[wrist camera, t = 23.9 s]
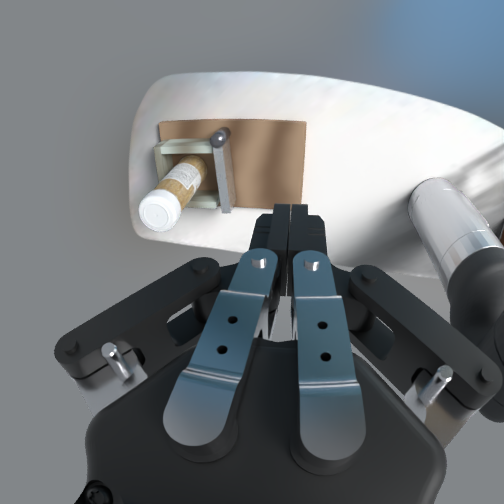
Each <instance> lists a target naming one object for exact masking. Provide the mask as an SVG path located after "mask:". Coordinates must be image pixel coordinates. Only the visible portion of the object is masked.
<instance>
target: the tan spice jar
mask: <svg viewBox="0 0 504 504" xmlns="http://www.w3.org/2000/svg"><path fill="white" fill-rule="evenodd" d="M207 172H208V171H207V166H206V164H205V162H204V161H203V159H201V158H200V157H198V156H195V155H188V156H185V157H183V158H182V159H181V160H180V162H179V163H178V165H176V166H175V167H174V168H173V169H172V170H171V171H170V172H169V173H168V174H167V175H166V176H165V177H164V178H163V179H162V180H161V181H160V182H159V184H158V185H157V186H156V188H155V189H154V190H153V191H151V192H149V193H148V194H147V195H146V196H145V197H144V199H143V200H142V201H141V203H140V205H139V216H140V219H141V220H142V222H143V223H144V224H145V225H146V226H147V227H148V228H149V229H151V230H153V231H156V232H166V231H168V230H170V229H172V228H173V227H174V225H175V224H176V223H177V221H178V219H179V218H180V215H181V212H182V210H183V209H184V207H185V206H186V204H187V203H188V202H189V201H190V199H191V198H192V196H193V195H194V193H195V192H196V190H197V189H198V188H199V186H200V184H201V182H202V181H204V179H205V178H206V176H207Z"/></svg>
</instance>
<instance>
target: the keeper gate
mask: <svg viewBox="0 0 504 504" xmlns="http://www.w3.org/2000/svg"><path fill="white" fill-rule="evenodd" d="M230 136H231V131H230V129H229V128H227V127H221V128H220V129H219V130H218V131H217V132H216V133H215V134H214V135H213V136H212V137H211V138H210V145H211V146H212V147H213V153H214V160H215V168H216V175H217V182H218V189H219V196H220V203H221V210H222V213H231V211H232V209H233V206H234V204H235V201H236V193H235V185H234V176H233V167H232V158H231V149H230V140H229V137H230Z"/></svg>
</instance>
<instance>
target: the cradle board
mask: <svg viewBox="0 0 504 504" xmlns="http://www.w3.org/2000/svg"><path fill="white" fill-rule="evenodd" d="M221 127H227V128H229V129H230V131H231V136H230V137H229V140H230V149H231V158H232V167H233V176H234V185H235V193H236V201H235V204H234V206H233V207H249V208H265V209H274V204H275V203H281V204H291V208H292V204H301V199H302V186H303V172H304V157H305V140H306V122H303V121H287V120H265V119H201V120H178V121H163V122H160V123H159V130H160V138H161V142H160V143H159V144H157V145H156V146H155V147H154V154H155V161H156V168H157V175H158V181H159V182H160V181H161V180H162V179H163V178H164V177H165V176H166V175H167V174H168V173H169V172H170V171H171V170H172V169H173V168H174V167H175V166H176V165H178V163H179V162H180V160H181V159H182V158H183V157H185V156H188V155H195V156H198V157H200V158H201V159H203V161H204V162H205V164H206V166H207V171H208V172H207V176H206V178H205V179H204V181H202V182H201V184H200V186H199V188H198V189H197V190H196V192H195V193H194V195H193V196H192V198H191V199H190V201H189V202H188V203H187V204H186V206H185V207H191V208H214V209H216V208H217V206H221V203H220V196H219V189H218V182H217V175H216V168H215V160H214V153H213V147H212V146H211V145H210V138H211V137H212V136H213V135H214V134H215V133H216V132H217V131H218V130H219V129H220V128H221Z"/></svg>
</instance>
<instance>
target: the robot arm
mask: <svg viewBox="0 0 504 504" xmlns="http://www.w3.org/2000/svg"><path fill="white" fill-rule="evenodd" d="M408 213H409V216H410V219H411V221H412V223H413V225H414V226H415V228H416V230H417V232H418V234H419V236H420V238H421V240H422V242H423V244H424V246H425V248H426V250H427V253H428V255H429V257H430V259H431V261H432V263H433V265H434V267H435V270H436V272H437V274H438V276H439V279H440V281H441V283H442V285H443V288H444V290H445V292H446V295H447V297H448V299H449V302H450V323H451V324H449V323H448V322H447V321H446V320H444V319H443V318H442V317H441V316H440V315H438V314H437V313H436V312H435V311H433V310H432V309H431V308H430V307H428V306H427V305H426V304H425V303H423V302H422V301H421V300H420V299H418V298H417V297H416V296H415V295H413V294H412V293H411V292H410V291H408V290H407V289H406V288H404V287H403V286H402V285H400V284H399V283H398V282H397V281H395V280H394V279H393V278H391V277H390V276H389V275H387V274H386V273H385V272H383V271H382V270H381V269H379V268H377V267H375V266H371V265H360V266H357V267H355V268H354V269H353V270H352V271H351V272H348V271H344V270H341V269H338V268H336V267H335V266H333V265H332V264H331V263H330V260H329V258H328V257H327V246H326V236H325V225H324V221H323V220H322V219H321V217H320V216H318V215H308V204H292V208H291V204H281V203H275V204H274V209H273V214H262V215H261V216H260V217H259V218H258V219H257V220H256V224H255V228H254V231H253V235H252V239H251V243H250V247H249V251H247V252H245V253H244V254H243V255H242V256H241V258H240V261H239V262H238V263H236V264H233V265H228V266H223V267H219V263H218V262H217V261H216V260H214V259H212V258H208V257H201V258H196V259H193V260H191V261H189V262H187V263H186V264H184V265H182V266H181V267H179V268H177V269H175V270H174V271H172V272H170V273H168V274H167V275H165V276H163V277H161V278H160V279H158V280H156V281H154V282H153V283H151V284H149V285H148V286H146V287H144V288H142V289H141V290H139V291H137V292H136V293H134V294H132V295H130V296H129V297H127V298H125V299H124V300H122V301H120V302H119V303H117V304H115V305H113V306H112V307H110V308H109V309H107V310H105V311H103V312H102V313H100V314H98V315H97V316H95V317H94V318H92V319H90V320H88V321H87V322H85V323H83V324H82V325H80V326H79V327H77V328H75V329H73V330H72V331H70V332H69V333H67V334H65V335H64V336H63V337H61V338H60V340H59V341H58V342H57V344H56V346H55V350H54V354H55V358H56V359H57V361H58V362H59V363H60V364H61V366H62V367H63V368H64V369H65V370H66V372H67V374H68V375H69V376H70V377H71V378H72V380H73V381H74V382H75V383H76V384H77V385H78V388H79V390H80V392H81V394H82V395H83V398H84V400H85V402H86V403H87V406H88V407H89V409H90V411H91V413H92V415H93V417H94V418H93V419H92V421H91V422H90V424H89V426H88V429H87V432H86V437H85V448H86V455H87V465H88V466H87V468H88V469H87V482H86V486H85V488H84V490H83V492H82V494H81V495H80V497H79V498H78V500H77V501H76V502H75V503H74V504H434V501H435V499H436V496H437V494H438V491H439V490H440V488H441V485H442V483H443V481H444V478H445V474H446V467H447V460H446V455H445V451H444V449H445V448H446V446H447V445H448V444H449V443H450V442H451V441H452V439H453V438H454V437H455V436H456V435H457V433H458V432H459V431H460V430H461V428H462V427H463V426H464V425H465V423H466V422H467V421H468V419H469V418H470V417H472V416H473V415H474V414H475V413H476V412H477V411H480V413H481V414H482V415H483V416H485V417H486V418H487V419H489V420H491V421H494V422H499V423H501V422H504V247H503V245H502V244H501V242H500V241H499V240H498V238H497V237H496V236H495V234H494V233H493V232H492V230H491V229H490V228H489V223H488V222H487V220H486V219H485V218H484V217H483V215H482V214H481V213H480V212H479V211H478V209H477V208H476V207H475V206H474V205H473V204H472V202H471V201H470V200H469V199H468V198H467V197H466V196H465V194H464V193H463V192H462V191H459V190H458V189H457V188H456V187H455V186H454V185H453V184H452V183H451V182H450V181H448V180H446V179H442V178H432V179H428V180H426V181H424V182H423V183H421V184H420V185H419V186H418V187H417V188H416V189H415V190H414V191H413V193H412V195H411V197H410V200H409V204H408ZM290 218H291V222H290ZM287 273H288V283H287ZM286 285H287V296H291V297H292V298H291V341H284V342H273V341H271V339H272V334H273V330H274V326H275V321H276V317H277V312H278V305H279V301H280V296H285V295H286ZM189 304H192V308H190V309H189V310H187V311H185V312H184V313H182V314H181V315H179V316H178V317H176V318H175V319H173V320H171V321H170V322H168V323H167V321H168V319H169V318H170V317H171V316H172V315H173V314H175V313H176V312H178V311H180V310H181V309H183V308H184V307H186V306H187V305H189ZM376 317H378V318H379V319H380V320H381V321H383V322H384V323H385V324H386V325H387V326H388V327H389V328H390V329H391V330H392V331H393V332H392V331H391V330H390V329H389V328H387V327H386V326H385V325H384V324H383V323H382V322H381V321H380V320H378V319H377V318H376ZM350 342H351V343H352V344H353V345H354V346H355V347H356V348H357V349H358V350H359V351H360V352H361V353H362V354H363V355H364V356H365V357H366V358H367V359H368V360H369V361H370V362H371V363H372V364H373V365H374V366H375V367H376V368H377V369H378V370H379V371H380V372H381V373H382V374H383V375H384V376H385V377H386V378H387V379H389V381H390V382H391V383H392V384H393V385H394V386H395V387H396V388H397V389H398V390H399V391H401V393H402V394H403V395H404V402H403V401H402V399H401V398H400V397H399V396H398V395H397V394H396V393H395V392H394V391H393V390H392V389H391V388H390V387H389V385H387V383H386V382H385V381H384V380H383V379H382V378H381V377H380V376H379V375H378V374H377V373H376V371H374V370H373V368H372V367H371V366H370V365H369V364H368V363H367V362H366V361H365V360H363V359H362V358H361V357H359V356H358V355H356V354H355V353H353V352H352V349H351V343H350Z"/></svg>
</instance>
